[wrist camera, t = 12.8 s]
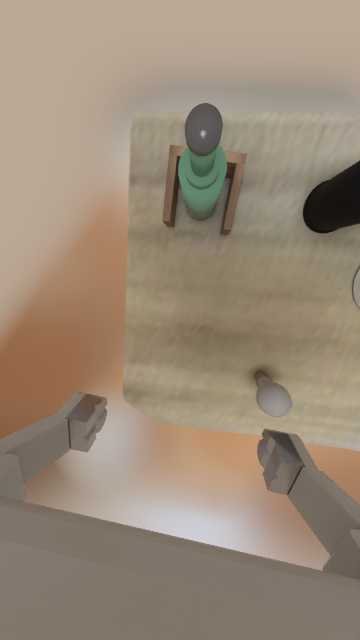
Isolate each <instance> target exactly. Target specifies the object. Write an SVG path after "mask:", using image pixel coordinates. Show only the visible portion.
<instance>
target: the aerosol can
mask: <svg viewBox="0 0 360 640" xmlns="http://www.w3.org/2000/svg"><path fill="white" fill-rule="evenodd" d="M303 216H304V221H305V223H306V225H307V226H308V227H309V228H310V229H311V230H313V231H315V232H318V233H328V232H332V231H335V230H337V229H339V228H343V227H347V226H351V225H355V224H359V223H360V161H358V162H357V163H355V164H354V165H352V166H351V167H349V168H347V169H346V170H344V171H343V172H341V173H340V174H338V175H336V176H335V177H333V178H332V179H330V180H327V181H325V182H322V183H321V184H319V185H318V186H317V187H316V188H315V189H313V191H312V192H311V193H310V194H309V196H308V198H307V200H306V202H305V205H304V210H303Z"/></svg>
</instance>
